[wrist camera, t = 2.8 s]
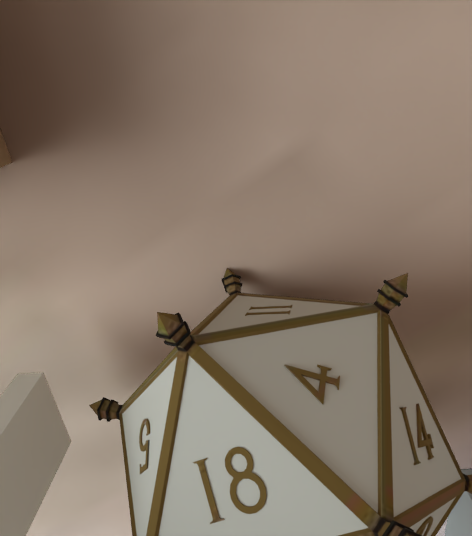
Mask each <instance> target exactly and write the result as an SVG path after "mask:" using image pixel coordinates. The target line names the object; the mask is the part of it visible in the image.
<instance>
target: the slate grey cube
mask: <svg viewBox="0 0 472 536" xmlns="http://www.w3.org/2000/svg"><path fill="white" fill-rule="evenodd" d="M461 471H462V473H463V474H465V475H471V474H472V469H461ZM445 536H472V494H471V493H469V492H467V491H464V493H463V494H462V496H461V497H460V499H459V500H458V502H457V503H456V505H455V507H454V508H453V510H452V511H451V513H450V514H449V516H448V520H447V525H446V531H445Z"/></svg>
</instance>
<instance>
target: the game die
mask: <svg viewBox="0 0 472 536" xmlns="http://www.w3.org/2000/svg"><path fill="white" fill-rule="evenodd" d="M407 277H408V273H407V274H404V275H402V276H399V277H397V278H394V279H392V280H389V281H386V280H384V283H385V285H384V286H383V288H382V289H381V290H380V289H378V291H377V292H379V295H378V298H377V301H376V302H375V303H374V304H369V303H357V302H345V301H332V300H320V299H308V298H296V297H283V296H271V295H259V294H247V293H241V292H240V290H241V286H242V283H240V280H239V279H240V278H241V277H240V276H238V275H235V274H234V273H233V272H231V271H230V270H229V269H228V268H227V270H226V273H225V276H224V278H223V279H222V282H223V285H224V288H225V291H226V292H228V293H229V295H230V296H229V297H228V298H227V299H226V300H225V301H224V302H223V303H221V304H220V305H219V306H218V307H217V308H216V309H215V310H214V311H213V312H212V313H211V314H210V315H208V316H207V317H206V318H205V319H204V320H203V321H202V322H201V323H200V324H199V325H198V326H197V327H196V328H194V329H193V330H192V331H191V332H190V330H189V327H188V325H187V323H186V321H184V322H183V320H182V318H181V315H180V313H177V314H175V315H174V314H167V313H160V312H157V316H158V332H157V334H156V336H157V337H160V338H164V339H165V341H164V343H165V344H167V345H171V346H176V347H175V348H174V349H173V350H172V352H171V353H170V354H169V355H168V356H167V357H166V358H165V359H164V360H163V361H162V363H161V364H160V365H159V366H158V367H157V368H156V369H155V370H154V371H153V372H152V374H151V375H150V376H149V377H148V378H147V379H146V380H145V381H144V382H143V383H142V385H141V386H140V387H139V388H138V389H137V390H136V391H135V392H134V393H133V394H132V396H131V397H130V398H129V399H128V400H127V401H126V402H125V403H124V404H123V405H118V402H116V401H114V400H111V401H110V400H108V399H106V398H104V397H103V399H102V400H100V401H98V402H96V403H94V404H91V405H89V406H90V407H91V408H92V409H93V410H94V412H95V413H96V414H97V415H98V419H99V420H102V419H107V421H110V420H111V419H119V420H120V426H121V435H122V444H123V453H124V462H125V472H126V481H127V490H128V499H129V508H130V517H131V526H132V535H133V536H436V534H437V533H438V531H439V530H440V528H441V526H442V525H443V523H444V522H445V520H446V519H447V517H448V516H449V514H450V513H451V511H452V510H453V508H454V507H455V505H456V503H457V502H458V500H459V499H460V497H461V496H462V494H463V493H464V491H467V492H469V493H471V494H472V474H471V475H465V474H463V473H462V471H461V469H460V467H459V465H458V463H457V461H456V458H455V456H454V454H453V452H452V450H451V448H450V446H449V443H448V441H447V439H446V437H445V435H444V433H443V430H442V428H441V426H440V424H439V422H438V420H437V418H436V415H435V413H434V411H433V409H432V407H431V405H430V403H429V400H428V398H427V396H426V394H425V392H424V390H423V388H422V385H421V383H420V381H419V379H418V377H417V375H416V372H415V370H414V368H413V366H412V364H411V362H410V360H409V357H408V355H407V353H406V351H405V349H404V347H403V345H402V342H401V340H400V338H399V336H398V334H397V332H396V330H395V327H394V325H393V323H392V321H391V319H390V317H389V315H388V314H389V311H390V310H391V309H392V308H394V307H395V306H400V305H401V304H400V301H401V300H402V299H403V298H404V297H406V298H407V297H408V295H407V294H406V290H407Z"/></svg>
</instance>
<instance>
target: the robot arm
mask: <svg viewBox="0 0 472 536" xmlns="http://www.w3.org/2000/svg"><path fill="white" fill-rule="evenodd" d="M70 443H71V439H70V437H69V434H68V432H67V429H66V427H65V424H64V422H63V420H62V417H61V415H60V412H59V410H58V407H57V405H56V402H55V400H54V397H53V395H52V393H51V390H50V388H49V385H48V383H47V380H46V378H45V375H44V373H43V372H39V373H21V374H17V375H16V376H15V378H14V379H13V380H12V382H11V383H10V384H9V386H8V387H7V388H6V390H5V391H4V392H3V394H2V395H1V396H0V536H26V534H27V532H28V530H29V528H30V526H31V524H32V522H33V520H34V517H35V515H36V513H37V511H38V509H39V507H40V505H41V503H42V501H43V499H44V497H45V495H46V493H47V491H48V489H49V487H50V484H51V482H52V480H53V478H54V476H55V474H56V472H57V470H58V468H59V466H60V464H61V462H62V460H63V458H64V456H65V454H66V452H67V449H68V447H69V445H70Z"/></svg>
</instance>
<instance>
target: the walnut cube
mask: <svg viewBox="0 0 472 536" xmlns="http://www.w3.org/2000/svg"><path fill="white" fill-rule="evenodd" d="M10 163H12V160H11V157H10V154H9V151H8V149H7V146H6V143H5V140H4V137H3V134H2V131H1V129H0V168H1V167H3V166H5V165H8V164H10Z"/></svg>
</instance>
